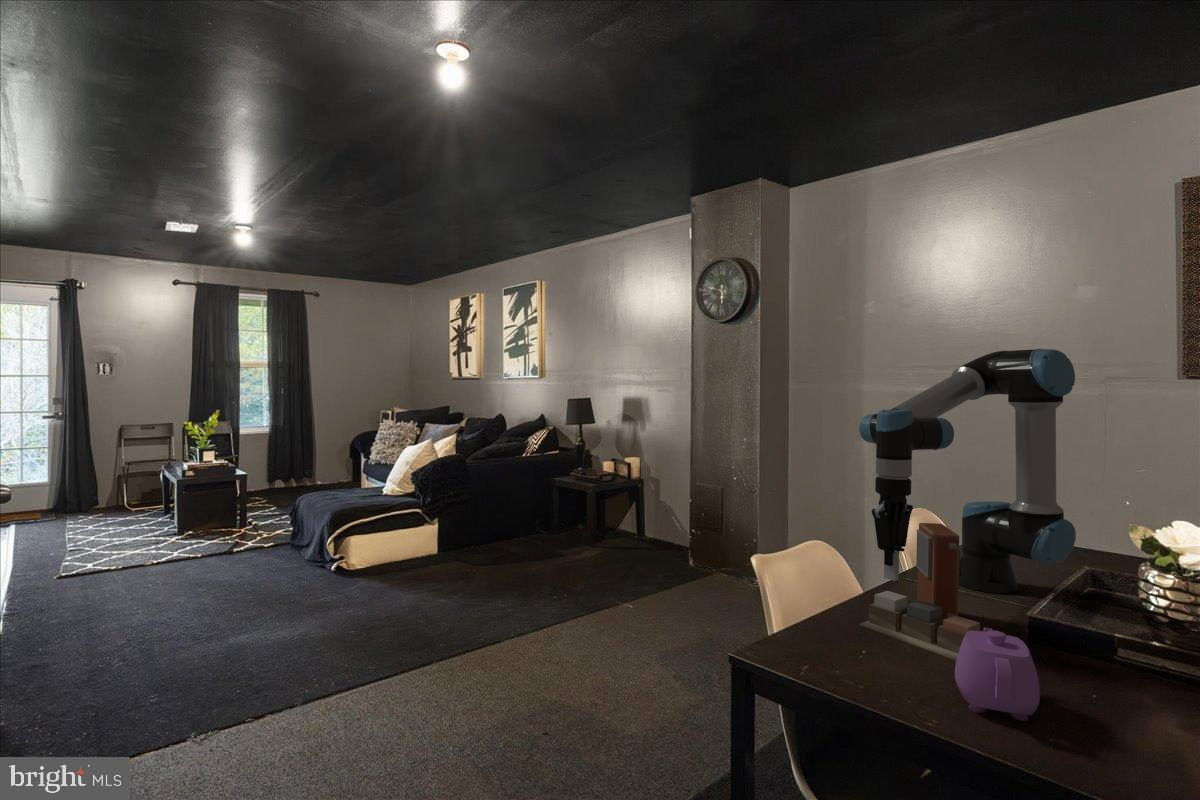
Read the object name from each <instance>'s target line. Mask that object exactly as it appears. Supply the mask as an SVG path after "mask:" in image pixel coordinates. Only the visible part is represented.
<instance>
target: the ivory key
mask: <svg viewBox="0 0 1200 800" xmlns="http://www.w3.org/2000/svg"><path fill="white" fill-rule="evenodd" d="M873 604H874V606H877V607H880V608H883V609H886V610H889V611H892V612H898V611H901V610H904V609H907V605H908V596H907V595H903V594H899V593H896V592H892V591H889V590H885V591H882V592H878V593H875V594H874V602H873Z"/></svg>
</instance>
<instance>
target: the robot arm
mask: <svg viewBox="0 0 1200 800" xmlns="http://www.w3.org/2000/svg"><path fill="white" fill-rule="evenodd" d="M1075 382H1076V374H1075V368H1074V365H1073V363H1072V361H1071V360H1070V358H1068V356H1067V355H1066V354H1065V353H1063V352H1062V351H1060V350H1059V349H1054V348H1053V349H1052V348H1051V349H1050V348H1048V349H1047V348H1036V349H1035V348H1033V349H1020V350H1019V349H1018V350H1017V349H1016V350H1015V349H1014V350H999V351H994V352H990V353H987V354H984V355H982V356H980V357H977V358H974V359H972V360H970V361H968V362H967V363H965V364H962V365H961V366H959V367H957V368H956V369H954V370H953V372H952V374H951V376H949V377H946V378H945V379H943V380H942V381H940V382H937V383H936V384H934V385H932V386H931V387H929V388H927V389H925V390H923V391H921V392H920V393H918V394H916V395H914V396H912V397H910V398H909V399H907V400H905V401H903V402H901V403H900V404H898V405H895V406H894V407H893V408H891V409H881V410H879V411H878V412H877V413H870V414H867V415H865V416H864V417H862V418H861V420H860V423H859V425H858V430H859V431H858V432H859V435H860V437H861V438H862V439H863V441H865V442H866V443H871V444H874V445H875V450H876V451H875V457H876V459H875V475H877V476H876V477H875V480H874V481H875V482H874V484H875V487H874V491H875V493H876V494H878V495H879V500H878V507H877V508H872V509H871V514H872V516H873V520H874V528H875V537H876V543H877V549H879V550H881V551H883V552H884V553H883V579H886V580H890V581H894V582H896V581H899V580H900V576H899V575H900V574H899V573H900V552H902V553H903V552H905V547H906V545H907V541H908V540H907V539H908V533H909V527H910V520H911V515H912V512H913V510H914V506H913V505H912V504H909V503H907V501H908V500H907V499H908V498H907V497H908V496H910V495H911V494H912V480H911V478H910V477H912V475H913V474H912V471H913V466H912V464H913V460H912V459H913V451H920V450H921V451H923V450H924V451H925V450H927V451H929V450H932V451H938V450H941V449H946V448H948V447H949V446H950V445H951V444H952V443H953V441H954V439H955V429H954V427H953V424H952V423H951V421H949V420H948V419H946V418H943V417H940V416H942V415H944V414H945V413H947V412H949V411H951V410H953V409H955V408H956V407H958V406H959V405H962V404H964V403H965V402H968V401H969V400H970V401H975V400H979V399H980V398H982V397H984V396H991V395H1007V402H1008V404H1009V405H1010V406H1011V407H1013V408H1014V410H1015V411H1014V415H1015V417H1014V419H1015V424H1014V427H1015V430H1014V431H1015V432H1014V433H1015V436H1014V437H1015V500H1014V501H1013V502H1012V503H1011V502H1007V501H1006V502H1005V501H973V502H967V503H965V504H964V506H963V507H962V516H961V555H960V566H959V580H958V586H961V587H964V588H966V589H969V590H970V589H971V590H975V591H980V592H986V593H994V594H1008V593H1009V594H1010V593H1014V592H1016V591H1018V585H1019V583H1018V581H1019V580H1018V578H1017V575H1016V571H1015V570H1014V567H1013V564H1012V561H1011V559H1012V558H1011V557H1012V556H1016V557H1020V558H1025V559H1028V560H1031V561H1033V562H1036V563H1045V564H1049V565H1055V564H1059V563H1061V562H1062V561H1064V560H1065V559H1067V557H1068V556H1069V555H1070V553H1071V552H1072V550H1073V549H1074V546H1075V543H1076V538H1077V537H1076V536H1077V534H1076V533H1077V532H1076V528H1075V526H1074V525H1073V524H1074V523H1072V522H1071V521H1069V520H1068V519H1065V516H1064V515H1065V514H1064V513H1065V512H1064V511H1065V510H1064V509H1063V508H1062V507H1061V506H1060V505H1058V503H1057V408H1058V407H1060V406H1061V405H1062V404H1063V403H1064V396H1067V395H1069V394H1070V393H1071V392H1072V390H1073V387H1074V386H1075ZM1011 555H1012V556H1011Z"/></svg>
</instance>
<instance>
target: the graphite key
mask: <svg viewBox="0 0 1200 800" xmlns="http://www.w3.org/2000/svg"><path fill="white" fill-rule="evenodd" d="M907 616H908V617H911V618H914V619H917V620H920V621H923V622H926V623H929V624H930V623H933V622H936V621H938V620H941V619H942V607H940V606H937V605H934V604H930V603H927V602H924V601H918V600H917V601H914V602H911V603H909V604H908V603H907Z"/></svg>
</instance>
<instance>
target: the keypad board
mask: <svg viewBox="0 0 1200 800" xmlns="http://www.w3.org/2000/svg"><path fill="white" fill-rule="evenodd" d="M945 619H947V618H944V617H942V619H941V620H938V621H936V622H933V623H930V624H929V623H926V622H923V621H920V620H917V619H914V618H911V617H908V616H907V609H904V610H901V611H898V612H892V611H889V610H886V609H883V608H880V607H877V606H874V603H871V604H868V620H867V621H864V622H860V623H859V624H858V625H859V627H862V628H865V629H868V630H870V629H871V631H873V630H874V631H873V632H877V633H879V634H881V633H882V634H881V635H885V636H887V637H890V638H893V639H895V640H898V641H901V642H904V643H907V644H910V645H912V646H915V647H918V648H922V649H924V650H926V651H929V652H933V653H934V654H936V655H937V654H938V655H941V656H943V657H946V658H948V659H951V660H955V661H956V660H957V656H958V652H959V649H960V646H961V644H962V641H963V639H964V636H965V635H963V634H960V633H957V632H954V631H951V630H948V629H945V628H943V620H945ZM980 631H981V632H984V628H983V629H982V628H980Z"/></svg>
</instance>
